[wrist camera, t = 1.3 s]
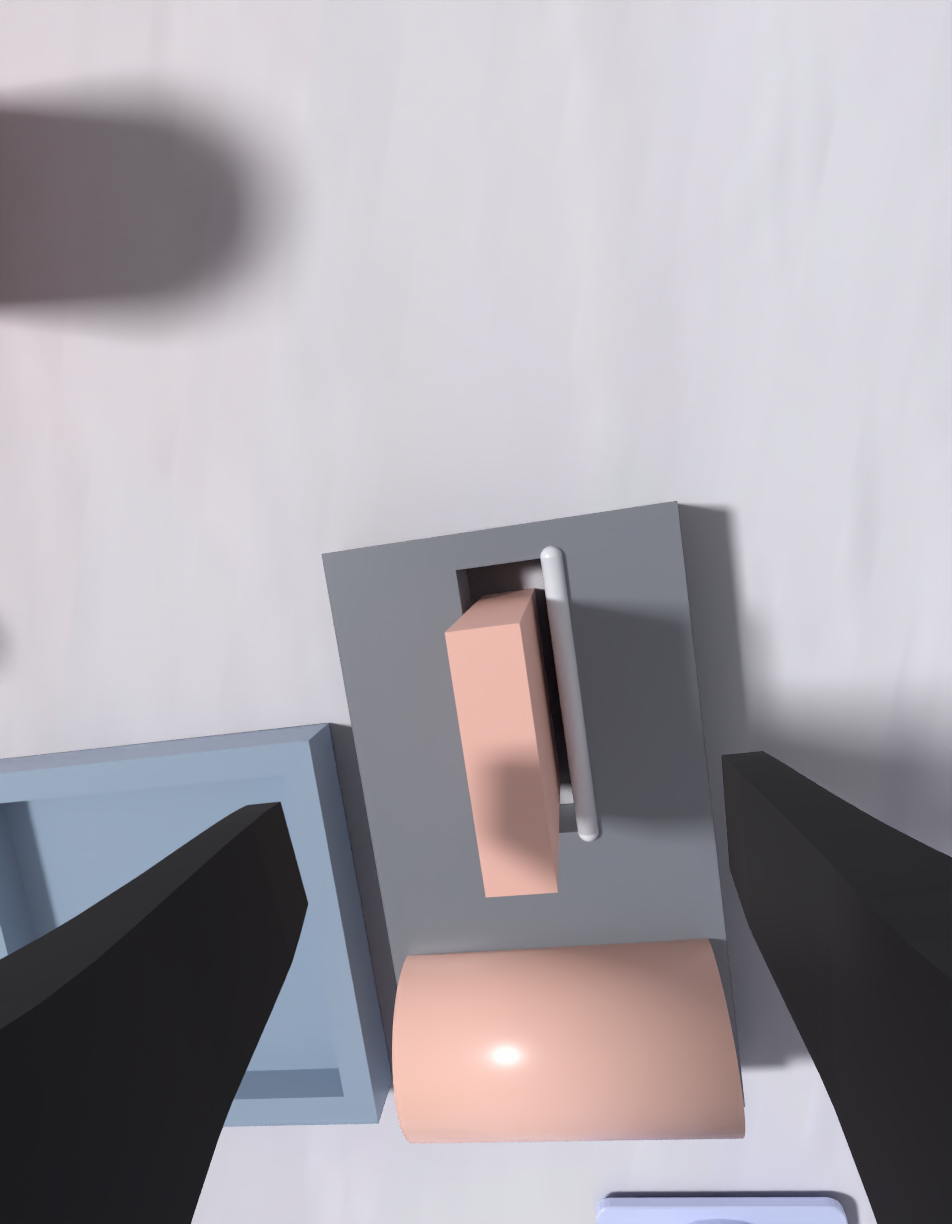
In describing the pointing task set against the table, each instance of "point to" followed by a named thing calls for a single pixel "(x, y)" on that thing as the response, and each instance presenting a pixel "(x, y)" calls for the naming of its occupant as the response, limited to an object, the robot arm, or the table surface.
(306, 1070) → the tray
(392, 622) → the slotted grey platform
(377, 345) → the table surface
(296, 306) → the table surface
